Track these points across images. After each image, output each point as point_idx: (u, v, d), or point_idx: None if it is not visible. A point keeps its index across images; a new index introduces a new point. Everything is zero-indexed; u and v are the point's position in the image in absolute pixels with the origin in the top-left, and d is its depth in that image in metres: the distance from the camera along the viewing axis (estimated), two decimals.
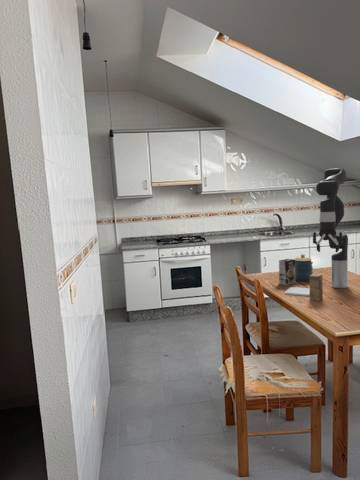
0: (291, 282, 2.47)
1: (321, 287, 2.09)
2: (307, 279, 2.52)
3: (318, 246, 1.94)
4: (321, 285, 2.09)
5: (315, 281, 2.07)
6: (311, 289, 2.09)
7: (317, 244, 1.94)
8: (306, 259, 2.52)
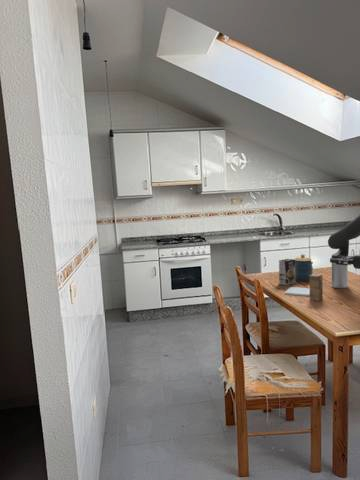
0: (291, 282, 2.47)
1: (321, 287, 2.09)
2: (307, 279, 2.52)
3: (335, 263, 1.95)
4: (321, 285, 2.09)
5: (315, 281, 2.07)
6: (311, 289, 2.09)
7: None
8: (306, 259, 2.52)
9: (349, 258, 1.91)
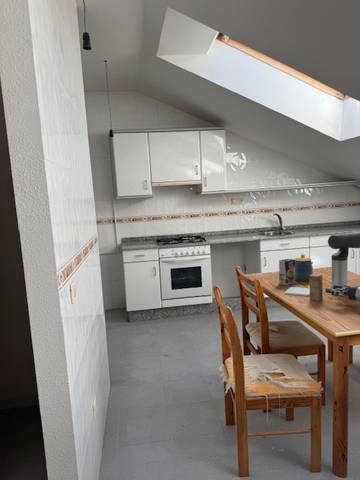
0: (291, 282, 2.47)
1: (321, 287, 2.09)
2: (307, 279, 2.52)
3: None
4: (321, 285, 2.09)
5: (314, 281, 2.07)
6: (311, 289, 2.09)
7: None
8: (306, 259, 2.52)
9: (344, 289, 1.95)
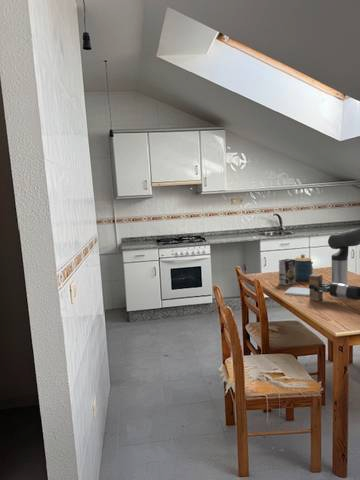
0: (291, 282, 2.47)
1: None
2: (307, 279, 2.52)
3: None
4: None
5: (314, 281, 2.07)
6: (311, 289, 2.09)
7: None
8: (306, 259, 2.52)
9: (325, 286, 2.03)
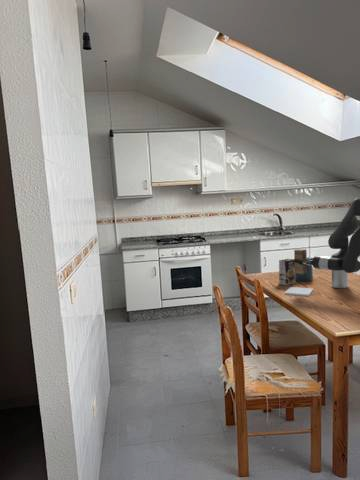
0: (291, 282, 2.47)
1: None
2: (307, 279, 2.52)
3: (298, 263, 2.21)
4: None
5: (299, 255, 2.20)
6: (296, 263, 2.22)
7: None
8: None
9: (309, 259, 2.16)
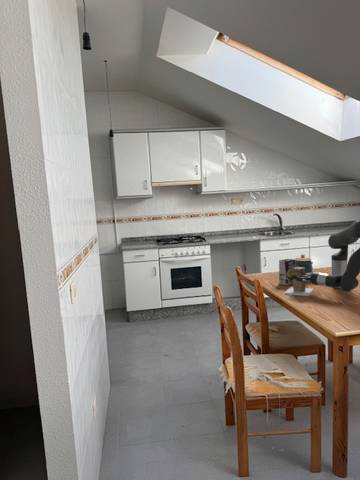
0: (291, 282, 2.47)
1: None
2: None
3: (296, 279, 2.22)
4: None
5: (298, 274, 2.23)
6: (294, 281, 2.26)
7: None
8: (306, 259, 2.52)
9: (308, 275, 2.19)
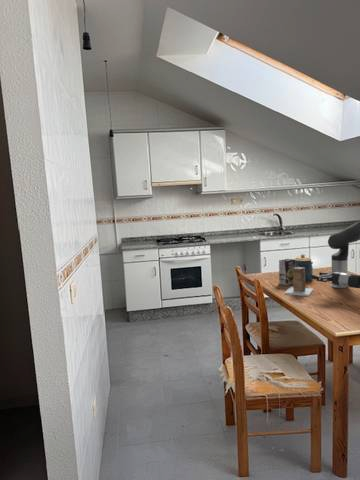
0: (291, 282, 2.47)
1: (304, 279, 2.25)
2: (307, 279, 2.52)
3: None
4: (304, 277, 2.25)
5: (298, 273, 2.23)
6: (294, 281, 2.26)
7: None
8: (306, 259, 2.52)
9: (328, 275, 2.09)
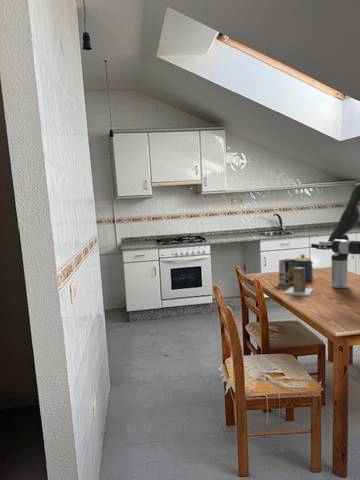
0: (291, 282, 2.47)
1: (304, 279, 2.25)
2: (307, 279, 2.52)
3: (316, 247, 2.10)
4: (304, 277, 2.25)
5: (298, 273, 2.23)
6: (294, 281, 2.26)
7: None
8: (306, 259, 2.52)
9: (328, 243, 2.06)
